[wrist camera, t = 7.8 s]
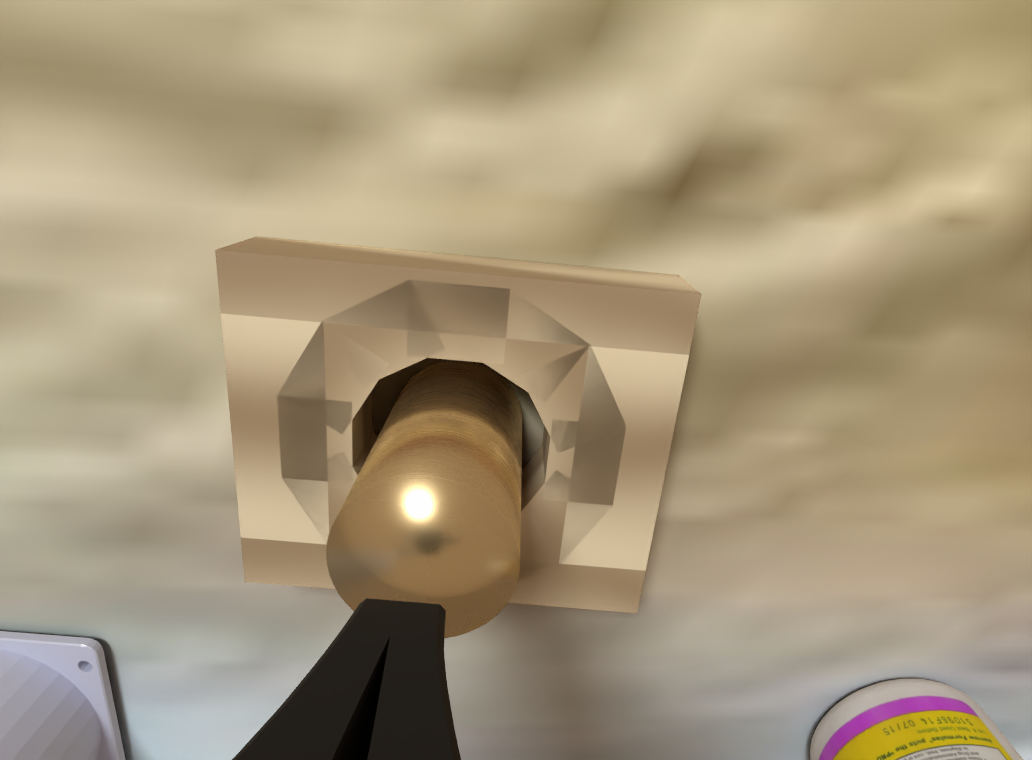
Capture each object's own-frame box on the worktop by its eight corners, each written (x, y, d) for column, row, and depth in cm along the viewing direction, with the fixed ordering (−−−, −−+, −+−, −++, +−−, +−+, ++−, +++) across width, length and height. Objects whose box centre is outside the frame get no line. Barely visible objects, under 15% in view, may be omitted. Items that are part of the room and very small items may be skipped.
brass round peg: (516, 481, 20) (511, 645, 13) (394, 471, 20) (329, 631, 13) (527, 366, 18) (528, 486, 12) (395, 355, 18) (323, 470, 12)
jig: (624, 563, 21) (637, 613, 19) (275, 534, 21) (244, 581, 18) (678, 275, 17) (701, 294, 15) (256, 236, 17) (215, 249, 15)
